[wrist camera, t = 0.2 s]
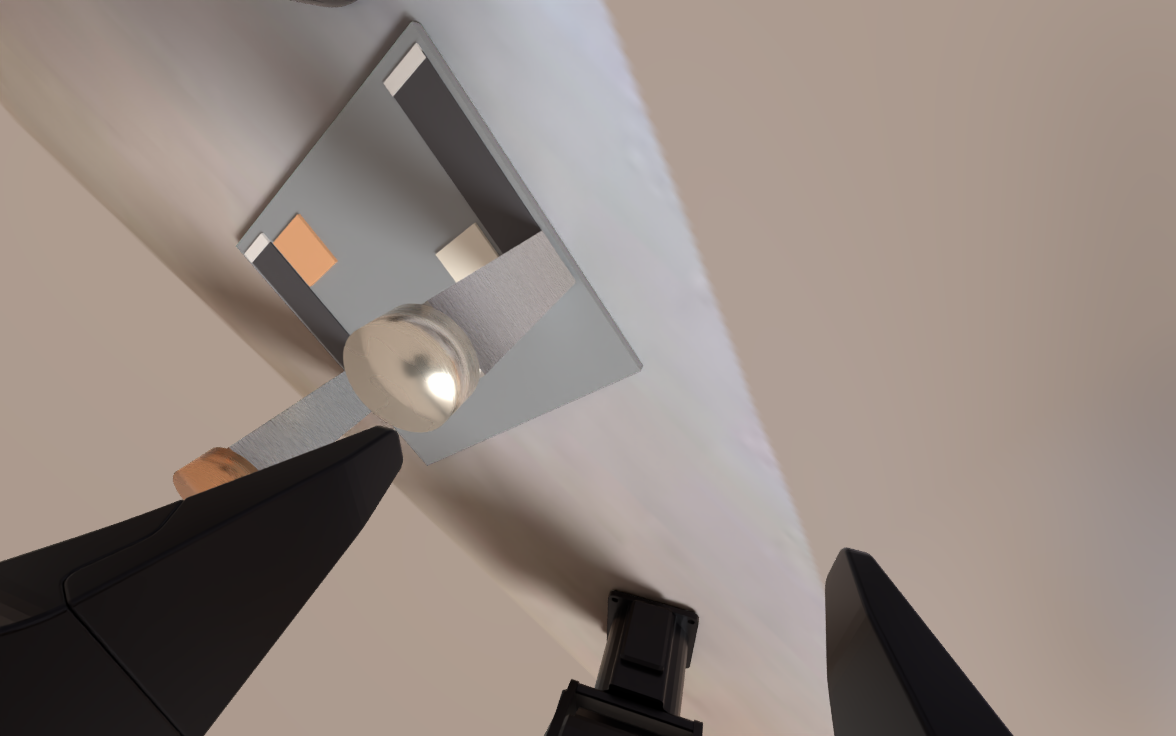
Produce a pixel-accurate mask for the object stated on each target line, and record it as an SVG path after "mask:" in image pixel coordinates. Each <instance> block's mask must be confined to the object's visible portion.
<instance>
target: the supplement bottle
mask: <svg viewBox="0 0 1176 736" xmlns="http://www.w3.org/2000/svg"><path fill="white" fill-rule="evenodd" d="M291 1H296V2H301V3H305V4H311V5H317V6H323V7H342V6H346V5H349V4H351V3H353V2H355V1H357V0H291Z"/></svg>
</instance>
